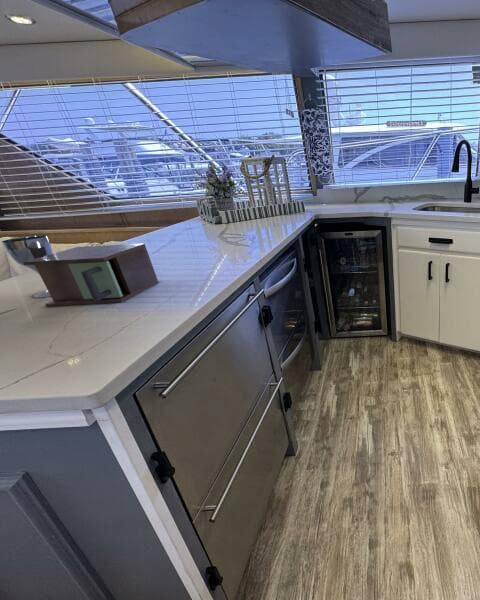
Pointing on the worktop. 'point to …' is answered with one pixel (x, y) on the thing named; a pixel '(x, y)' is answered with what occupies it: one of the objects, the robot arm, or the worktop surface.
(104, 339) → the worktop surface
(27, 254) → the wine glass
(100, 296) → the door
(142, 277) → the cabinet
